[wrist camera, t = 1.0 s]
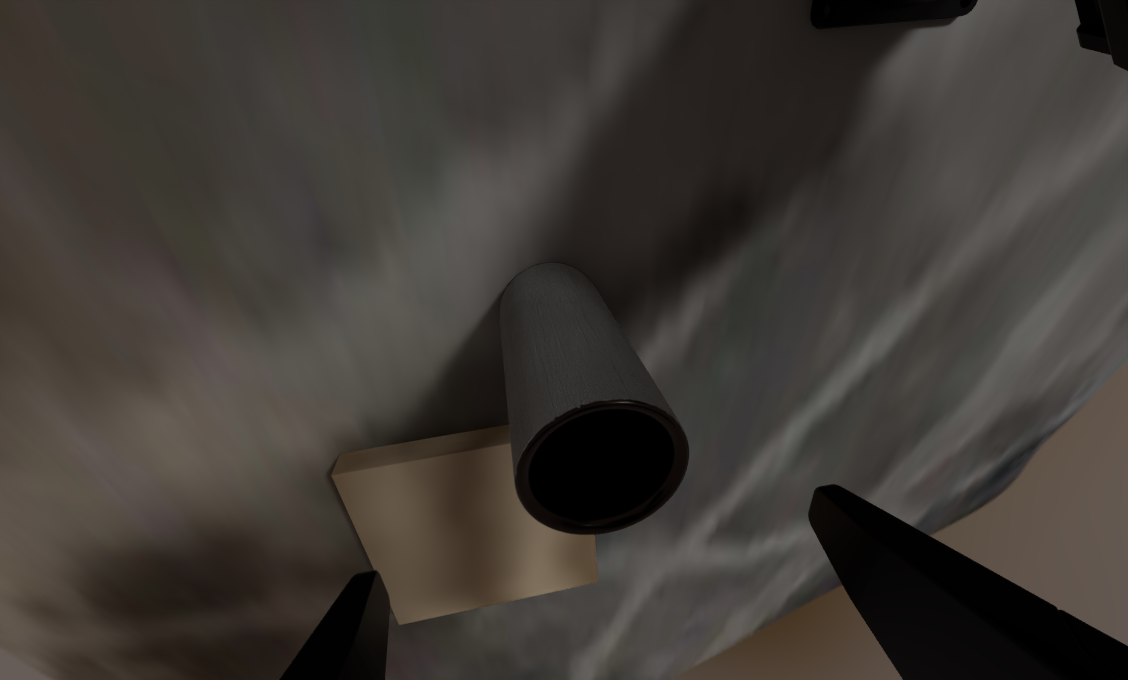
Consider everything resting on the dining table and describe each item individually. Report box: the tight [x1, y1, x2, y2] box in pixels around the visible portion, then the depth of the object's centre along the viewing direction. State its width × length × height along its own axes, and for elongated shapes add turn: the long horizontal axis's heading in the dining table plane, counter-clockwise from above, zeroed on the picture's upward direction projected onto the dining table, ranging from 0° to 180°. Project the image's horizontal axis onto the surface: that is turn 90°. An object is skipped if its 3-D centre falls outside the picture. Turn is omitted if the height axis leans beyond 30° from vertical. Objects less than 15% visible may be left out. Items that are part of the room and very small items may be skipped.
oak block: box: [331, 425, 598, 625], centre depth 25 cm, size 12×12×2 cm
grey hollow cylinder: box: [499, 263, 689, 535], centre depth 16 cm, size 4×4×10 cm
